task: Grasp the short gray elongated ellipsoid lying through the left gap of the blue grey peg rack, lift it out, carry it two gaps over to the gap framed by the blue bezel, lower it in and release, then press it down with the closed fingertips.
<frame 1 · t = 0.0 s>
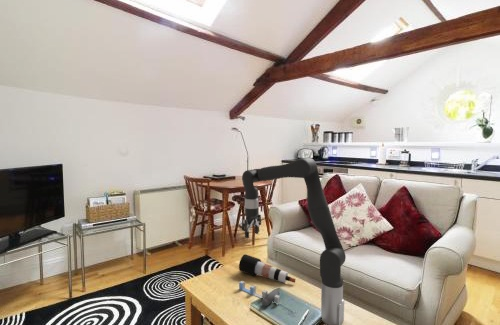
hand: (251, 235, 147), 29 cm above the table, fingers open, 8 cm apart
cable: (267, 278, 160), on the table
gray elongated ellipsoid: (270, 300, 137), on the table, touching blue grey peg rack
blue grey peg rack: (258, 296, 141), on the table
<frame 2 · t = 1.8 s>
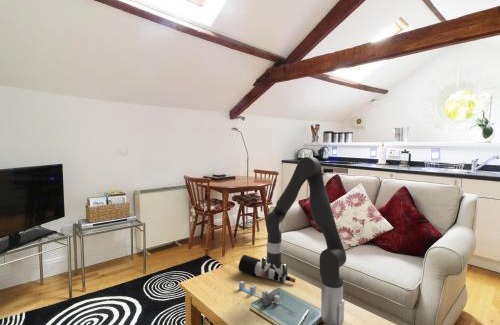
hand: (273, 280, 139), 9 cm above the table, fingers open, 8 cm apart
nothing on the table moved.
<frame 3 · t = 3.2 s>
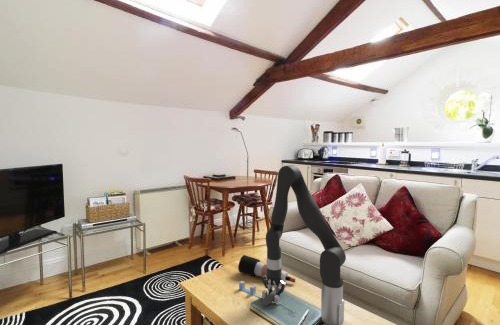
hand: (274, 298, 139), 0 cm above the table, fingers closed on gray elongated ellipsoid, 3 cm apart
gray elongated ellipsoid: (270, 300, 137), on the table, touching blue grey peg rack, gripper
everything else where it was.
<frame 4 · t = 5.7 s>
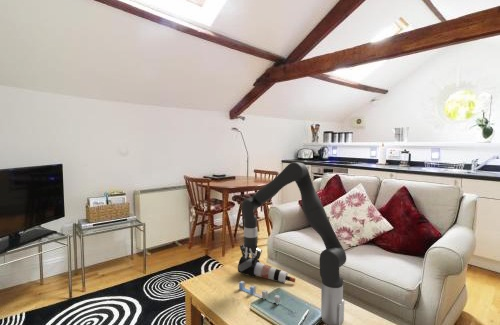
hand: (250, 265, 147), 13 cm above the table, fingers closed on gray elongated ellipsoid, 3 cm apart
gray elongated ellipsoid: (247, 267, 145), point 13 cm above the table, touching gripper
when the fingers open (2 cm above the table, at t = 8.1 s): gray elongated ellipsoid drops 1 cm, resting on blue grey peg rack.
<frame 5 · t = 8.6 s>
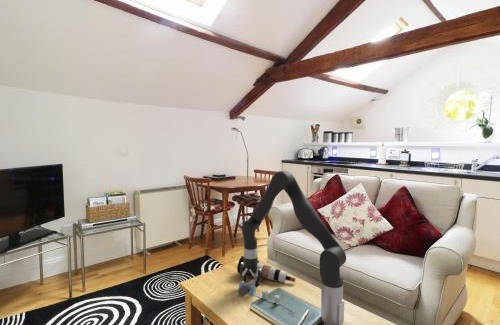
hand: (250, 284, 148), 3 cm above the table, fingers open, 8 cm apart
gray elongated ellipsoid: (247, 290, 146), on the table, tilted 6°, touching blue grey peg rack
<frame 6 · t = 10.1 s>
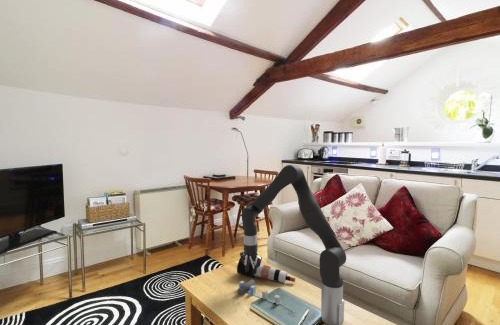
hand: (250, 272, 147), 9 cm above the table, fingers open, 4 cm apart
gray elongated ellipsoid: (247, 290, 146), point 1 cm above the table, tilted 27°, touching blue grey peg rack
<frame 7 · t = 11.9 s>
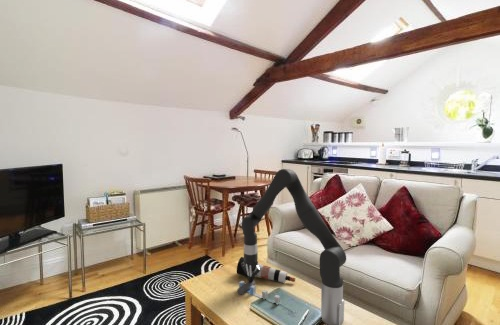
hand: (250, 281, 148), 4 cm above the table, fingers closed
gray elongated ellipsoid: (247, 290, 146), point 1 cm above the table, tilted 29°, touching blue grey peg rack, gripper
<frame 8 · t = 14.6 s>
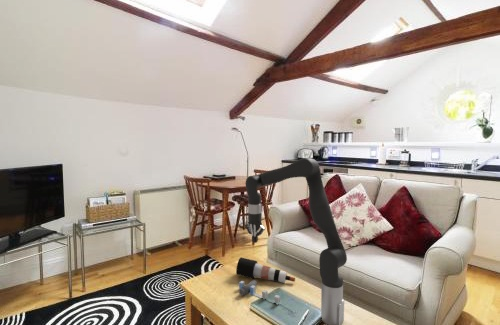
hand: (254, 242, 149), 25 cm above the table, fingers closed
gray elongated ellipsoid: (247, 290, 146), on the table, tilted 15°, touching blue grey peg rack
at the end: gray elongated ellipsoid inside the target area on the blue grey peg rack (0.1 cm from its centre), point 0.5 cm above the blue grey peg rack's base; gray elongated ellipsoid point 0.5 cm above the table; the gripper is holding nothing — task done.
